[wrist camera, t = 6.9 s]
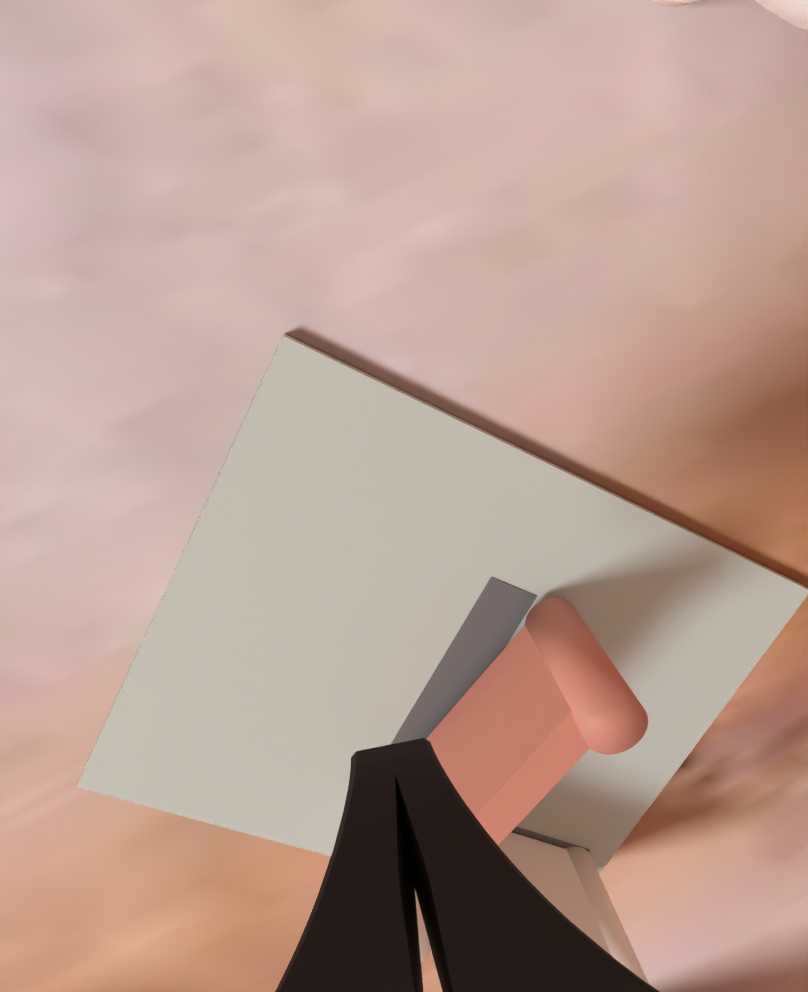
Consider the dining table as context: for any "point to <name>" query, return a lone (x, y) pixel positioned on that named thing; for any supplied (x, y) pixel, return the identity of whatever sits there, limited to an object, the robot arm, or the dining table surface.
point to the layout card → (409, 614)
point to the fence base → (565, 894)
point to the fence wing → (535, 718)
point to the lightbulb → (798, 3)
